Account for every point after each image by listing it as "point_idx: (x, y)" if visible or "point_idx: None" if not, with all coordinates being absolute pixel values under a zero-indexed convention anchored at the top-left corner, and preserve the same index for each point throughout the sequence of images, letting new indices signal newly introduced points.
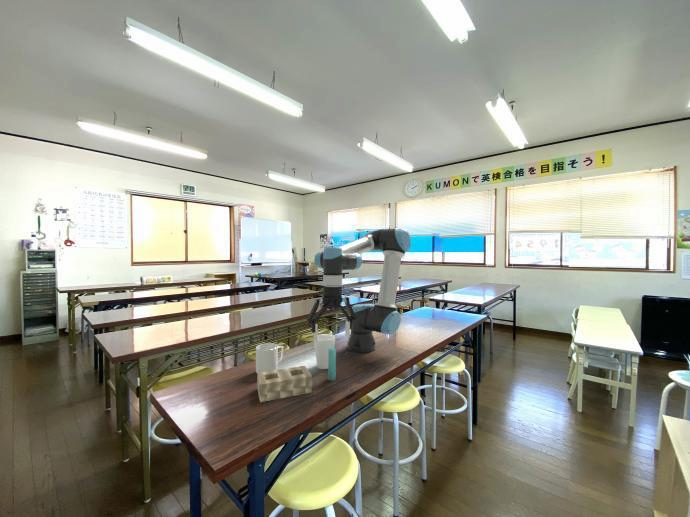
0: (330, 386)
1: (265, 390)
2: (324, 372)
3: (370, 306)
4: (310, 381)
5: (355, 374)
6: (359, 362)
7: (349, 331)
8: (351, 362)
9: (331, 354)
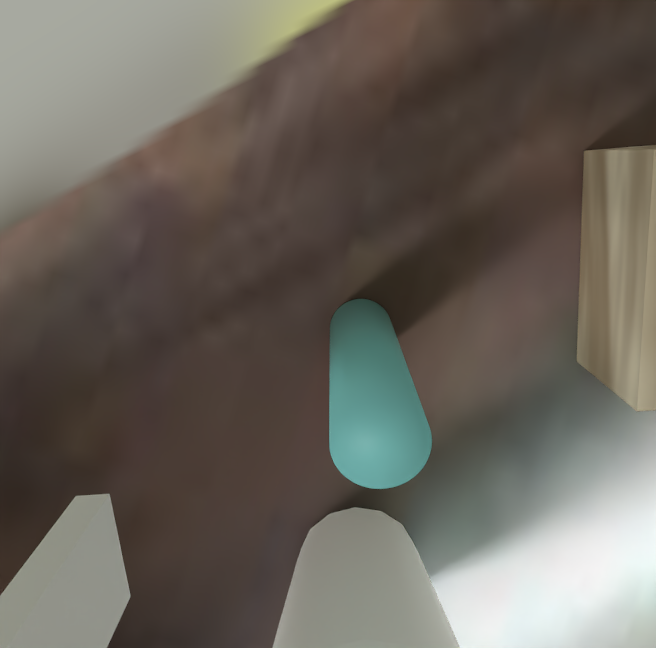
0: (410, 206)
1: None
2: None
3: None
4: (640, 148)
5: (148, 352)
6: None
7: (21, 574)
8: None
9: (398, 381)
